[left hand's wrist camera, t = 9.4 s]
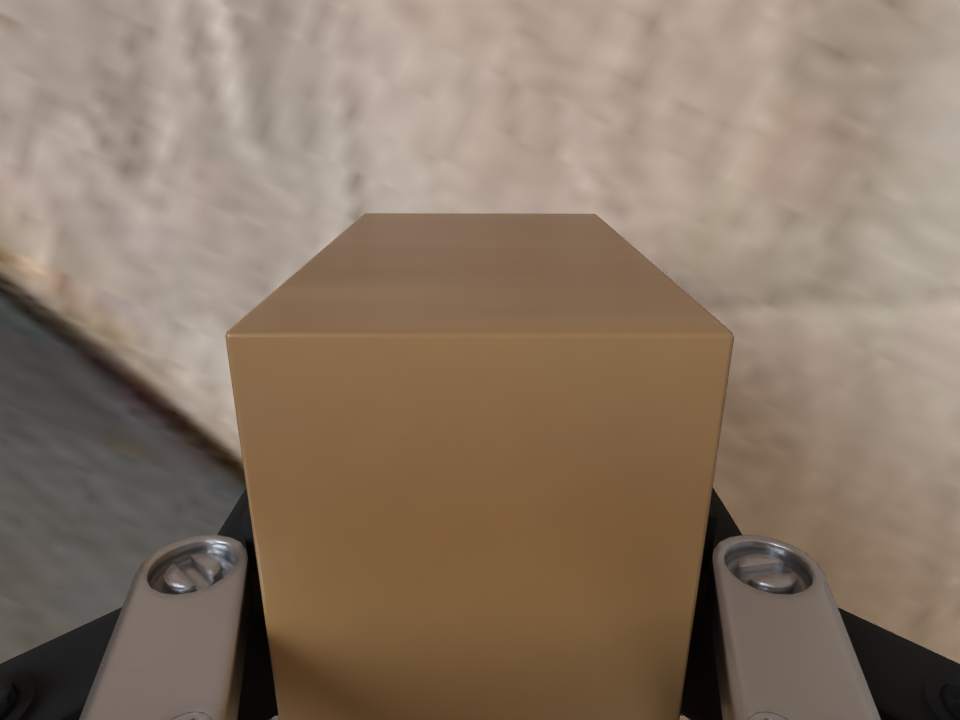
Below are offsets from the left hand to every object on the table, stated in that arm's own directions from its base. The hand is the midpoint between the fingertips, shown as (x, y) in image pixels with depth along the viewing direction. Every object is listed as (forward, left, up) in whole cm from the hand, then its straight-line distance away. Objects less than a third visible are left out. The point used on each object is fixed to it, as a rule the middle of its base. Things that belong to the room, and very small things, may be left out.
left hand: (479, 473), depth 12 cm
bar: (+21, +23, -2) cm, 31 cm away
